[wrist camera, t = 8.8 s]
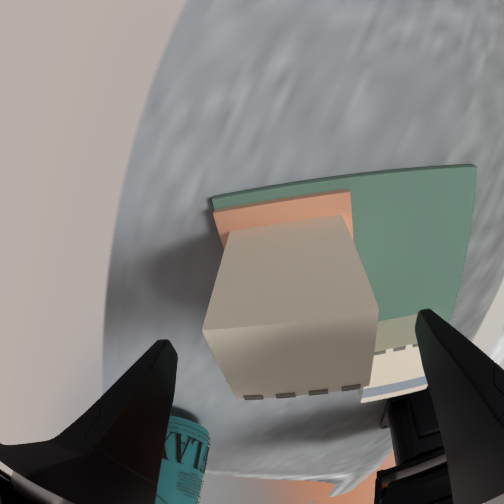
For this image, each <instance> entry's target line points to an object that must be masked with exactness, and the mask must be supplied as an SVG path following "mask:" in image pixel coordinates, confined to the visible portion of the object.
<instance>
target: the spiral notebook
mask: <svg viewBox="0 0 504 504" xmlns="http://www.w3.org/2000/svg"><path fill="white" fill-rule="evenodd" d="M433 311H434V312H435V313H436V311H435V310H433ZM436 314H437V313H436ZM416 319H417V314H415V315H410V316H405V317H400V318H395V319H389V320H384V321H378V324H377V334H376V342H375V350H374V358H373V365H372V372H371V378H370V384H369V386H366V387H361V388H360V389H359V394H360V401H361V403H364V402H370V401H375V400H380V399H385V398H390V397H395V396H399V395H404V394H408V393H412V392H416V391H420V390H424V389H426V388H427V385H428V384H427V380H426V377H425V374H424V370H423V366H422V362H421V357H420V352H419V347H418V343H417V338H416V334H415V324H416Z"/></svg>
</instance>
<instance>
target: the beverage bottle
mask: <svg viewBox="0 0 504 504" xmlns="http://www.w3.org/2000/svg"><path fill="white" fill-rule="evenodd" d="M209 439H210V438H209V433H208V431H207V430H206V429H205V428H204V427H202V426H201V425H199V424H197V423H195V422H192V421H190V420H187V419H183V418H180V417H175V416H170V419H169V424H168V429H167V434H166V440H165V445H164V451H163V457H162V463H161V468H160V474H159V481H158V485H157V486H158V488H157V494H156V501H155V504H197V503H198V498H199V497H200V496H199V494H200V489H201V488H200V487H201V482H202V476H203V473H204V472H205V470H206V469H205V466H206V464H207V463H206V461H207V455H208V453H209V452H208V450H209V447H208V444H209ZM210 442H211V441H210ZM209 445H210V444H209Z"/></svg>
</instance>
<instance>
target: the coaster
mask: <svg viewBox="0 0 504 504" xmlns="http://www.w3.org/2000/svg"><path fill="white" fill-rule="evenodd" d="M339 214H342V216H343V219H344V221H345V223H346V225H347V228H348V230H349V233H350V235H351V237H352V240H353V224H352V208H351V195H350V191H349V189H341V190H334V191H327V192H319V193H312V194H306V195H299V196H292V197H286V198H279V199H273V200H267V201H261V202H255V203H249V204H243V205H238V206H232V207H226V208H221V209H215V210H214V212H213V216H214V219H215V222H216V226H217V229H218V232H219V236H220V239H221V242H222V245H223V249H224V250H225V247H226V243H227V240H228V236H229V233H230V231H234V230H240V229H247V228H253V227H259V226H265V225H272V224H278V223H285V222H291V221H298V220H305V219H311V218H318V217H325V216H332V215H339Z"/></svg>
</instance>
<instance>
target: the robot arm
mask: <svg viewBox="0 0 504 504" xmlns="http://www.w3.org/2000/svg"><path fill="white" fill-rule="evenodd" d="M415 334H416V338H417V343H418V347H419V352H420V357H421V362H422V366H423V370H424V374H425V377H426V380H427V384H428V387H429V389H425V390H421V391H417V392H413V393H409V394H405V395H401V396H396V397H393V398H390V399H389V400H388V402H387V406H386V409H385V412H384V415H383V418H382V420H381V423H380V427H381V429H384V428H389V427H390V432H391V437H392V443H393V450H394V456H395V463H396V466H395V467H392V468H389V469H386V470H380V471H377V479H376V482H375V499H374V504H483V503H485V504H504V370H503V369H502V368H501V367H500V366H499V365H498V364H497V363H494V361H493V360H492V359H491V358H490V357H488V356H487V355H486V354H485V353H484V352H483V351H481V350H480V349H479V348H478V347H477V346H475V345H474V344H473V343H472V342H471V341H470V340H468V339H467V338H466V337H465V336H464V335H462V334H461V333H460V332H459V331H457V330H456V329H455V328H454V327H452V326H451V325H450V324H449V323H448V322H446V321H445V320H444V319H443V318H441V317H440V316H439V315H437V314H436V313H435V312H434V311H432V310H431V309H429V308H427V309H422V310H419V312H418V314H417V319H416V324H415ZM177 361H178V356H177V353H176V351H175V349H174V347H173V346H172V344H171V342H170V341H169V340H167V339H162V340H157V341H156V342H155V343H154V344H153V345H152V346H151V347H150V348H149V349H148V350H147V351H146V352H145V353H144V354H143V355H142V356H141V357H140V358H139V359H138V360H137V361H136V362H135V363H134V364H133V365H132V366H131V367H130V368H129V369H128V370H127V371H126V372H125V373H124V374H123V375H122V376H121V377H120V378H119V379H118V380H117V381H116V382H115V383H114V384H113V385H112V386H111V387H110V388H109V389H108V390H107V391H106V392H105V393H104V394H103V395H102V396H101V397H100V399H99V400H97V401H96V403H94V404H93V405H92V406H91V407H90V408H89V409H88V410H87V411H86V412H85V413H84V414H83V415H82V416H81V417H79V418H78V419H77V420H76V421H75V422H74V423H72V424H71V425H70V426H69V427H68V428H66V429H65V430H64V431H63V432H62V433H60V435H58V436H56V437H55V438H53V439H51V440H48V441H43V442H35V443H27V444H18V445H3V444H1V443H0V461H1V462H2V463H4V464H5V465H6V466H8V467H9V468H11V469H12V470H13V474H12V476H10V475H9V474H7V473H5V472H4V471H2V470H1V469H0V504H155V501H156V494H157V488H158V486H157V485H158V481H159V474H160V468H161V463H162V457H163V451H164V445H165V440H166V434H167V429H168V424H169V419H170V413H171V408H172V403H173V398H174V393H175V383H176V372H177Z"/></svg>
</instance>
